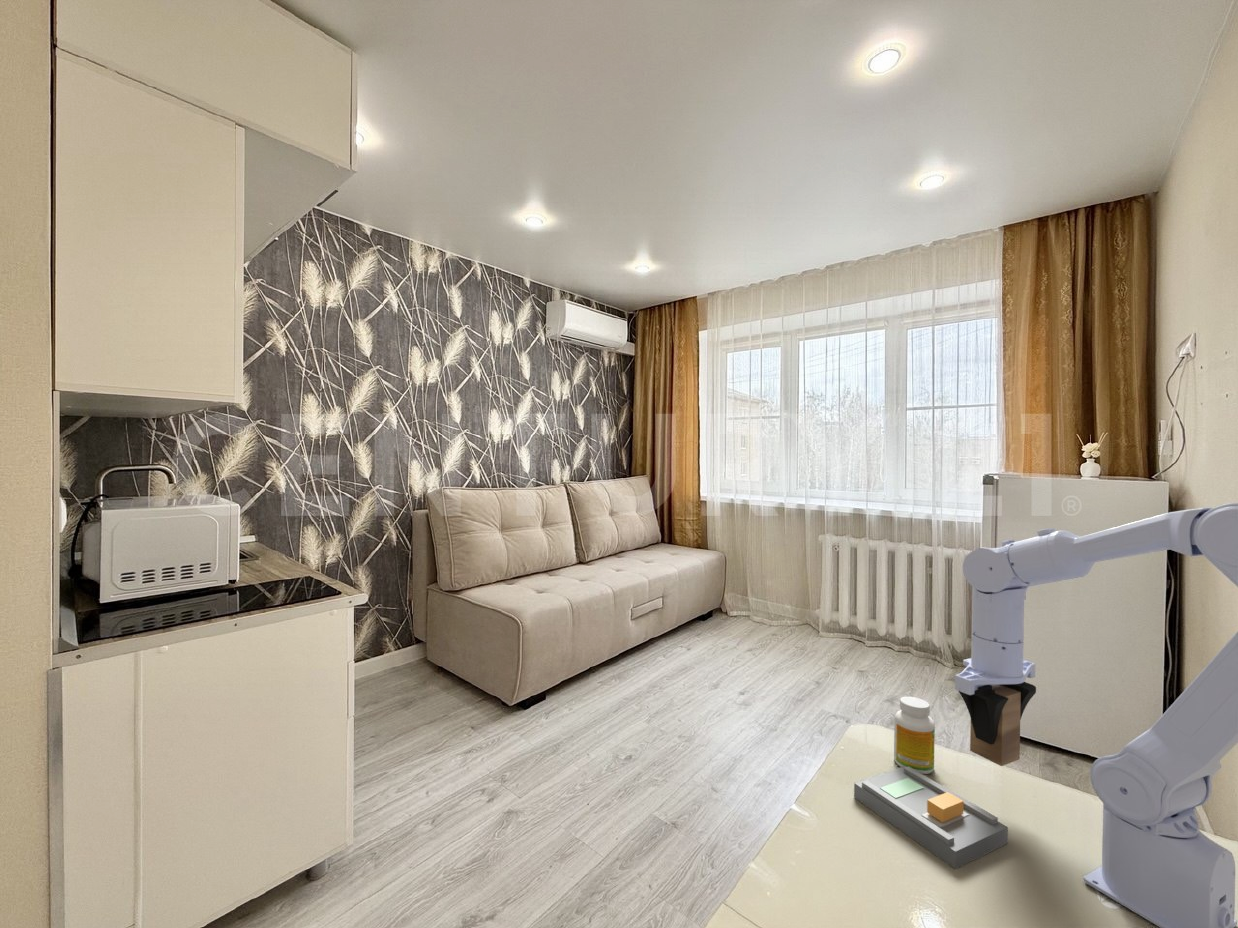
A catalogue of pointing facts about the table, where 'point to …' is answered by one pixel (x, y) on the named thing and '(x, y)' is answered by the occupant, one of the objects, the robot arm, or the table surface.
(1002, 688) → the tan wooden post
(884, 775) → the grey railed tray
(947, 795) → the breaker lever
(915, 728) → the supplement bottle
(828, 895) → the table surface
